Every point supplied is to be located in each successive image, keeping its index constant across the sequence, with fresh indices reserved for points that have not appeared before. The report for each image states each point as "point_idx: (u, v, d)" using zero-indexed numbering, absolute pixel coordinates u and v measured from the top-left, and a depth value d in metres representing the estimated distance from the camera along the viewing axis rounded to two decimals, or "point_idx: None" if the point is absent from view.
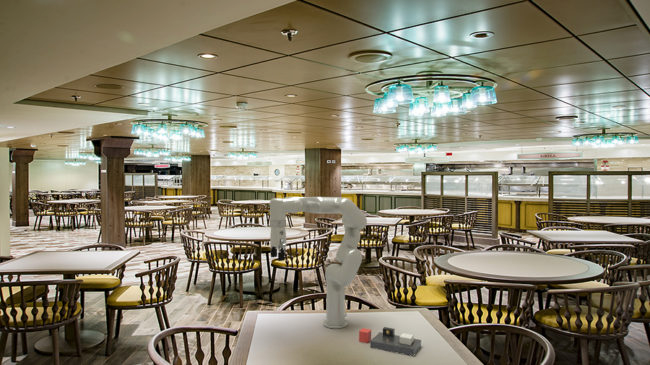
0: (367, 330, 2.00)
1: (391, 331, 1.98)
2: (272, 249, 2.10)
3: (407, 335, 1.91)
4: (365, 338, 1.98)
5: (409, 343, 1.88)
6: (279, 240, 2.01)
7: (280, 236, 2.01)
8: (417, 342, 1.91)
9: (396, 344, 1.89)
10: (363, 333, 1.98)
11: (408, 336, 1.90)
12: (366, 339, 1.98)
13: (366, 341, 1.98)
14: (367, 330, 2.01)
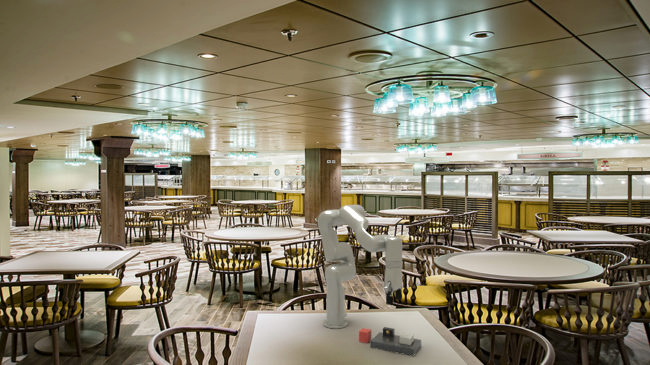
0: (367, 330, 2.00)
1: (391, 331, 1.98)
2: None
3: (407, 335, 1.91)
4: (365, 338, 1.98)
5: (409, 343, 1.88)
6: None
7: None
8: (417, 342, 1.91)
9: (396, 344, 1.89)
10: (363, 333, 1.98)
11: (408, 336, 1.90)
12: (366, 339, 1.98)
13: (366, 341, 1.98)
14: (367, 330, 2.01)
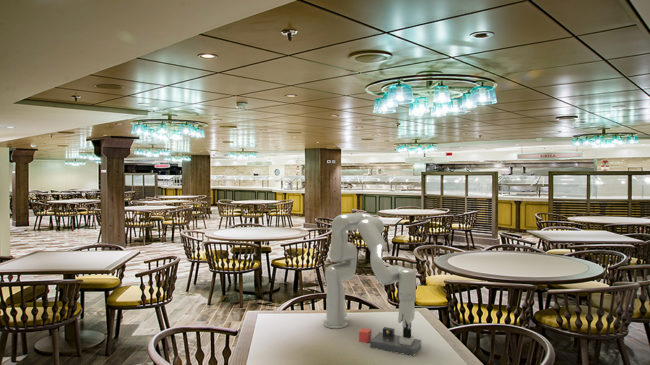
0: (367, 330, 2.00)
1: (391, 331, 1.98)
2: None
3: None
4: (365, 338, 1.98)
5: (409, 344, 1.88)
6: None
7: None
8: (417, 342, 1.91)
9: (396, 344, 1.89)
10: (363, 333, 1.98)
11: None
12: (366, 339, 1.98)
13: (366, 341, 1.98)
14: (367, 330, 2.01)
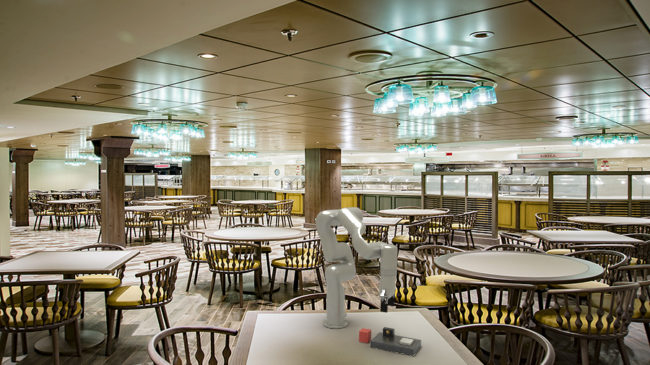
0: (367, 330, 2.00)
1: (391, 331, 1.98)
2: None
3: (407, 340, 1.91)
4: (365, 338, 1.98)
5: None
6: None
7: None
8: (417, 342, 1.91)
9: (396, 344, 1.89)
10: (363, 333, 1.98)
11: (408, 341, 1.90)
12: (366, 339, 1.98)
13: (366, 341, 1.98)
14: (367, 330, 2.01)
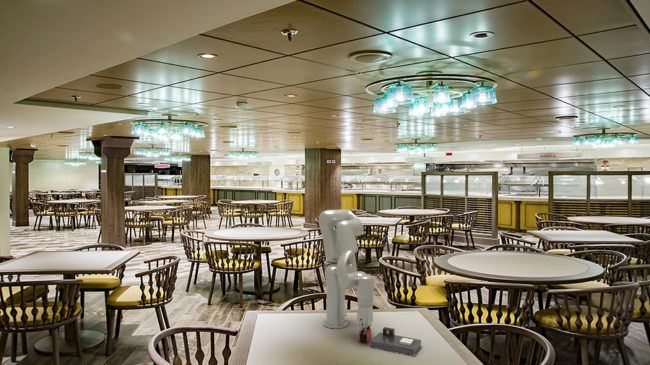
0: (367, 330, 2.00)
1: (391, 331, 1.98)
2: None
3: (407, 340, 1.91)
4: None
5: None
6: None
7: None
8: (417, 342, 1.91)
9: (396, 344, 1.89)
10: None
11: (408, 341, 1.90)
12: None
13: None
14: (367, 329, 2.01)
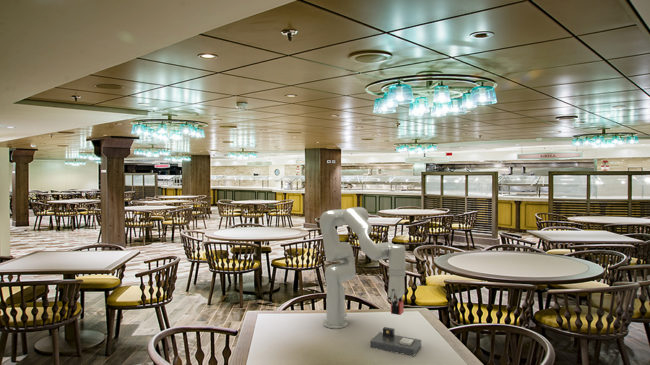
0: (399, 301, 1.93)
1: (391, 331, 1.98)
2: None
3: (407, 340, 1.91)
4: None
5: None
6: None
7: None
8: (417, 342, 1.91)
9: (396, 344, 1.89)
10: None
11: (408, 341, 1.90)
12: None
13: None
14: (399, 301, 1.93)
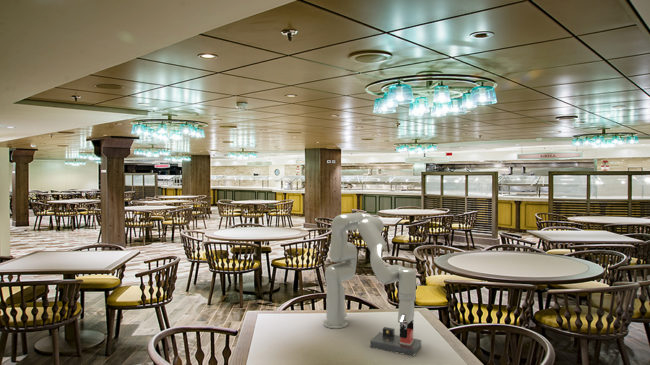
0: (409, 330, 1.91)
1: (391, 331, 1.98)
2: None
3: None
4: (406, 338, 1.89)
5: None
6: None
7: None
8: (417, 342, 1.91)
9: (396, 344, 1.89)
10: None
11: None
12: (408, 339, 1.88)
13: (408, 341, 1.88)
14: (409, 329, 1.91)
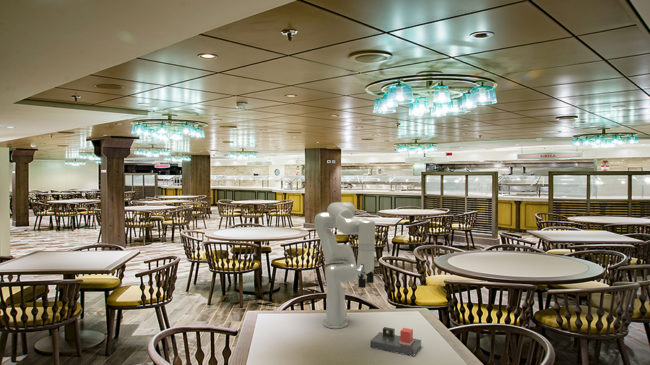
0: (409, 330, 1.91)
1: (391, 331, 1.98)
2: None
3: None
4: (406, 338, 1.89)
5: None
6: None
7: None
8: (417, 342, 1.91)
9: (396, 344, 1.89)
10: (405, 333, 1.89)
11: None
12: (408, 339, 1.88)
13: (408, 341, 1.88)
14: (409, 329, 1.91)
